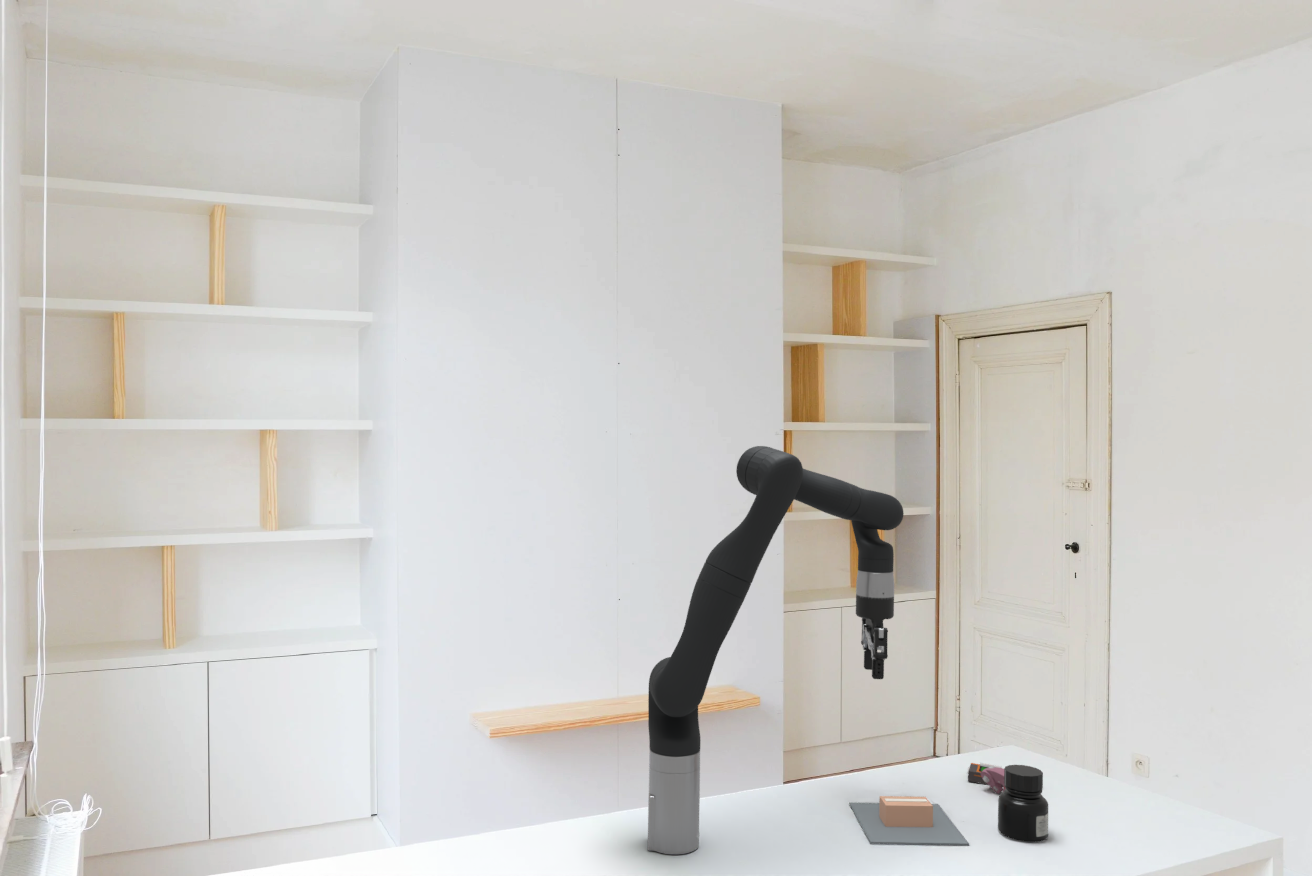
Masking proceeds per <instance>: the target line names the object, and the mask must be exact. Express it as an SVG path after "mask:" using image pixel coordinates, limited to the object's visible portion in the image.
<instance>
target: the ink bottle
mask: <svg viewBox="0 0 1312 876" xmlns="http://www.w3.org/2000/svg"><path fill="white" fill-rule="evenodd" d="M1003 769H1004V784H1005V785H1004V787H1005V790H1004V792H1003V791H1002V792H1000V793H999V794H998V800H997V801H998V804H997V829H998V832H999V833H1000V834H1001V835H1003V837H1006V838H1008V839H1011V840H1014V841H1018V842H1019V841H1020V842H1027V843H1040V842H1043V841H1046V840H1047V839H1048V837H1049V802H1048V800H1047V799H1046V798H1045V797H1044V795H1042V794H1043V784H1044V779H1043V778H1044V775H1043V774H1044V773H1043V771H1042V770H1041V769H1039V768H1036V767H1035V766H1030V765H1025V764H1024V765H1023V764H1008V765H1006V766H1005V767H1004V768H1003Z"/></svg>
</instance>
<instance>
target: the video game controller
mask: <svg viewBox="0 0 1312 876" xmlns="http://www.w3.org/2000/svg"><path fill="white" fill-rule="evenodd" d="M981 777H982V779H983V780H984V782H986V783H987V784H988V786H989V788H991V789H992V791H993V792H994V793H995V792H996V794H998V795H1000V794H1001V793H1002V792H1004V790H1005V787H1004V785H1005V784H1004V768H1003V767H1002V768H998V767H995V768H993V767H992V766H990V767H989V768H986V769H984V770H983V771H982V772H981ZM987 784H986V785H987ZM1001 784H1002V785H1003V787H1002V786H1001Z"/></svg>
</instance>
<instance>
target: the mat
mask: <svg viewBox="0 0 1312 876" xmlns="http://www.w3.org/2000/svg"><path fill="white" fill-rule="evenodd" d="M848 804H850V805H849V807H850V809H851V808H852V809H851V811H852V810H853V811H852V812H853V814H854V816H855V818H856V819H857V820H856V821H857V822H858V821H859V822H858V824H859V823H860V824H859V825H860V828H861V829H862V831H863V833H864V835H865V836H866V839H867V840H868V842H869V844H870V845H894V844H897V845H898V846H901V845H903V846H905V845H906V846H910V845H911V846H954V847H955V846H956V847H957V846H958V847H959V846H960V847H968V846H970V843H969V841H968V840H967V839H966V837H964V835H963V834H962V832H961V831H960V830H959V828H958V827H957V826H956V824H954V822H953V821H952V820H951V819H950V817H949V815H948V814H946V812H945V811H944V810H943V809H942V807H941V805H940V804H939V803H931V804H932V805H933V827H886V826H885V825H884V823H883V822H882V820H881V819H880V817H879V804H880V802H857V801H856V802H849V803H848Z"/></svg>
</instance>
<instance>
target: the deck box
mask: <svg viewBox="0 0 1312 876" xmlns="http://www.w3.org/2000/svg"><path fill="white" fill-rule="evenodd" d="M879 803H880V804H879V817H880V819H881V820H882V822H883V823H884V825H885V826H886V827H933V805H932V804H933V803H931V801H930V800H929V799H928V797H926V796H906V795H905V796H904V795H903V796H902V795H901V796H895V795H894V796H893V795H890V796H889V795H879Z"/></svg>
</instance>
